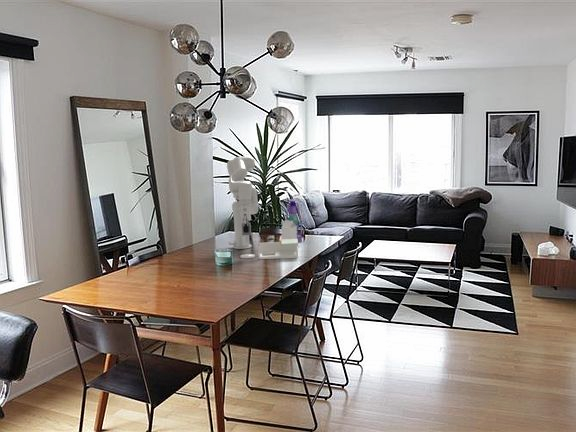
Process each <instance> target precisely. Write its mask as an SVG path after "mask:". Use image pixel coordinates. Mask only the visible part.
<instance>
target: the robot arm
mask: <svg viewBox="0 0 576 432" xmlns="http://www.w3.org/2000/svg"><path fill="white" fill-rule="evenodd" d="M255 164H256V163H255V159H254V157H252V156H251V155H249V156H247V155H246V156H244V155H243V156H237V157H234V158H233V159H231V160H228V161H227V163H226V170H227V173H228V176H229V177H228V189H229V192H230V194H232V196H233V198H234V200H236V201H234V202H233V203H232V204H231V209H232V215H233V225H234V241H228V245H229V246H232V248H233V249H237V250H244V249H251V248H252V246H253V245H252V244H250V235H242V223H243V224H244V226H243V230H244V233H248V232H249V226H248V223H250V221H251V219H252V217H251V215H256V214H258V213H259V202H258V201H259V200H258V192H257V191H258V190H257V189H256V186H255V185H253V184H252V182H251V181H250V180H245V178H247V176H248V172H252V171H253V170H254V169H255Z"/></svg>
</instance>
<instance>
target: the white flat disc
mask: <svg viewBox="0 0 576 432" xmlns="http://www.w3.org/2000/svg"><path fill="white" fill-rule="evenodd" d="M254 258H256V254H254V253H253V254H252V253H244V254H241V255H240V259H245V260H247V259H254Z"/></svg>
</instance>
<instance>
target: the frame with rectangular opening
mask: <svg viewBox="0 0 576 432" xmlns="http://www.w3.org/2000/svg"><path fill="white" fill-rule="evenodd" d="M298 246H299V245H294V246H280V241H274V242H273V241H272V242H268V241H267V242H259V243H258V247H257V252H258V253H257V257H258V260H271V259H272V260H273V259H274V260H275V259H298V258H299V248H298Z"/></svg>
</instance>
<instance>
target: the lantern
mask: <svg viewBox="0 0 576 432" xmlns="http://www.w3.org/2000/svg"><path fill="white" fill-rule="evenodd" d="M288 202H289V203H287V205H286V214H285V220H287V221H293V223H294V224H295V225H296V227H297V239H298V243H300V242H302V240H303V235H302V234H303V224H302V216H301V213H300V207H299V203H298V202H297V199H294V198H291V199H289V200H288ZM297 214H298V215H297ZM299 227H300V233H299V232H298V231H299Z"/></svg>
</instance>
